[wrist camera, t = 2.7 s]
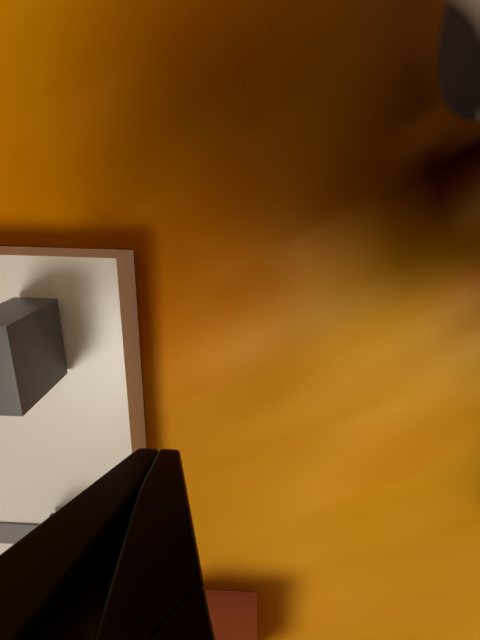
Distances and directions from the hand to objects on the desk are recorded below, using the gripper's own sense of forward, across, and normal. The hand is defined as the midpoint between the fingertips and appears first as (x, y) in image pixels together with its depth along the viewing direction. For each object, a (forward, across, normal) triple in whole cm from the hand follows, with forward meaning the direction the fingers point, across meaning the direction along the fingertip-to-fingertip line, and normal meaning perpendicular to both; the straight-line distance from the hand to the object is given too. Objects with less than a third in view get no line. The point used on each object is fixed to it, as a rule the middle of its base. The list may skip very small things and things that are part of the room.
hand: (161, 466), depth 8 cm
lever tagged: (+7, +6, 0) cm, 9 cm away
